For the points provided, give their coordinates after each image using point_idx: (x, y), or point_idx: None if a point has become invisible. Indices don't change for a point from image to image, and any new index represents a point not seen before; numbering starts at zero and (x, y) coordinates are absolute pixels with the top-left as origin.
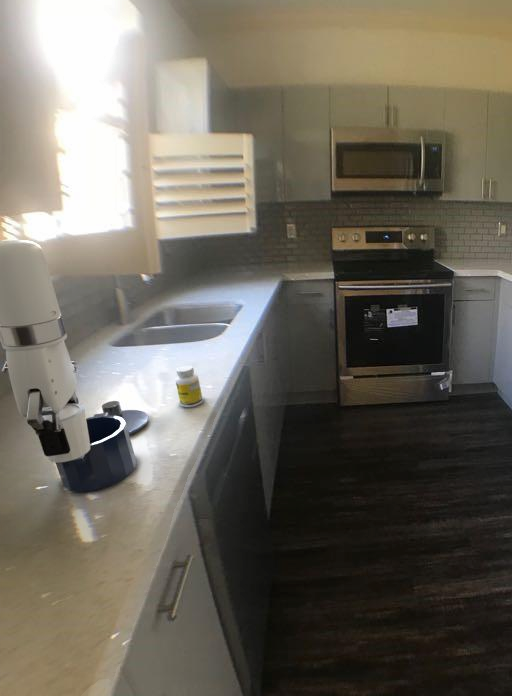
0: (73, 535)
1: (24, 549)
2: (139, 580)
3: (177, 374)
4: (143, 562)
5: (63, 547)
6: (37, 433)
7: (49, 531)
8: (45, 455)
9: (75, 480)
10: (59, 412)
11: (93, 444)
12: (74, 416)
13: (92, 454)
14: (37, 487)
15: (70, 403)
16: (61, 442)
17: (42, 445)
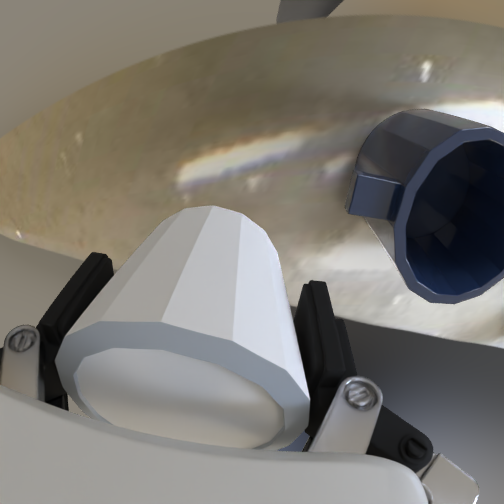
0: (210, 144)
1: (205, 64)
2: (77, 254)
3: None
4: None
5: (180, 133)
6: (12, 335)
7: (245, 96)
8: (93, 253)
9: (376, 147)
10: (189, 418)
11: (394, 244)
12: None
13: (383, 222)
14: (429, 63)
15: (308, 433)
16: None
17: (72, 281)
